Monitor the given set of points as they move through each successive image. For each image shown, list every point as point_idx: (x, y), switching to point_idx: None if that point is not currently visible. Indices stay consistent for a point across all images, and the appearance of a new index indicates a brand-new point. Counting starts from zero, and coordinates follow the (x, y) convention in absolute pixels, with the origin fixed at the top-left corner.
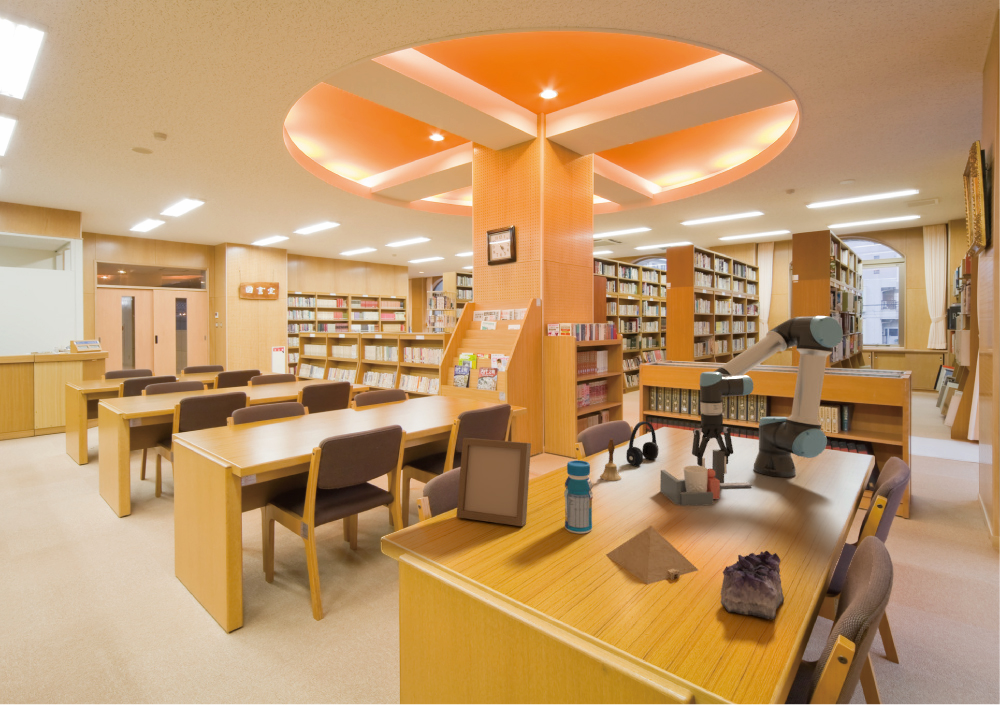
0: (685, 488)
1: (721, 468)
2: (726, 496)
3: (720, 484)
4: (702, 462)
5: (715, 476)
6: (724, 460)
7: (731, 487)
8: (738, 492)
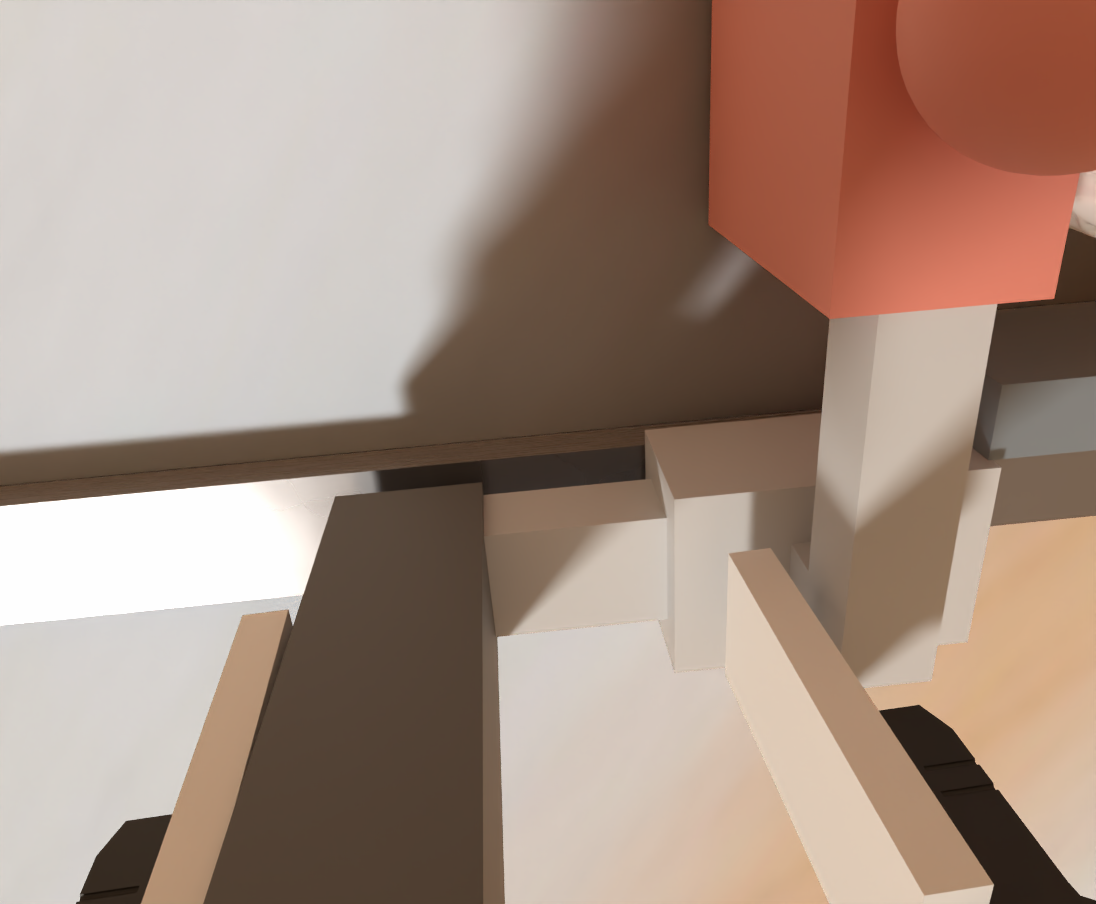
0: (1080, 319)
1: (349, 678)
2: (467, 35)
3: None
4: (905, 774)
5: (485, 576)
6: (207, 880)
7: (215, 470)
8: (161, 262)
